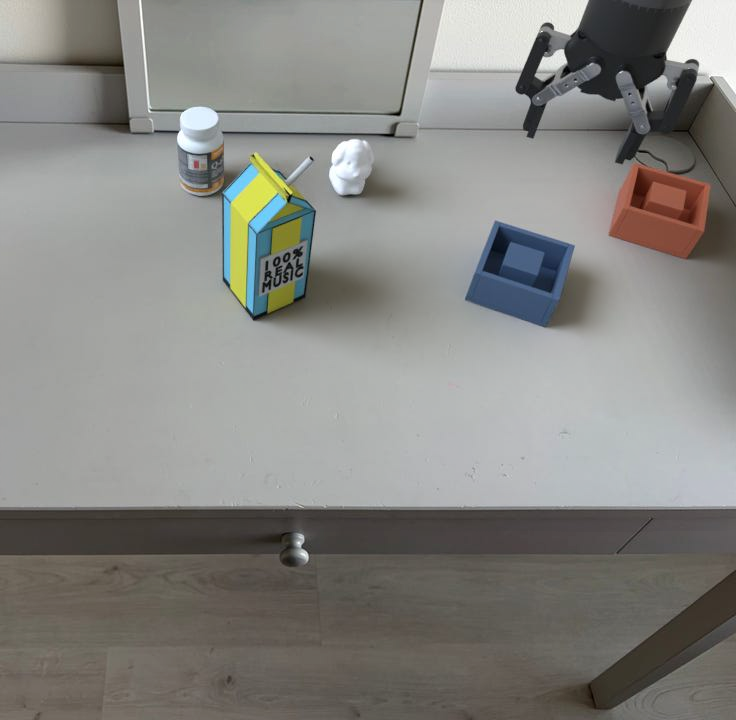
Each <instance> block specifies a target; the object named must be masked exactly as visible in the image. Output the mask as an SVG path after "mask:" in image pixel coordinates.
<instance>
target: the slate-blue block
mask: <svg viewBox="0 0 736 720" xmlns="http://www.w3.org/2000/svg"><path fill="white" fill-rule="evenodd" d="M544 254H545V252H542V251H538V250H535V249H532V248H529V247H526V246H523V245H519V244H516V243H513V242H510V244H509V247H508V249H507V252H506V254H505V256H504V259H503V261H502V264H501V266H500V269H499V272H498V275H497V276H500V277H503V278H506V279H509V280H512V281H515V282H518V283H521V284H524V285H527V286H530V287H533V285H534V283H535V281H536V279H537V277H538V274H539V271H540V267H541V264H542V261H543V258H544Z"/></svg>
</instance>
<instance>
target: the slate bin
mask: <svg viewBox="0 0 736 720" xmlns="http://www.w3.org/2000/svg"><path fill="white" fill-rule="evenodd" d="M510 242H513V243H516V244H519V245H523V246H526V247H529V248H532V249H535V250H538V251H542V252H545V254H544V258H543V261H542V264H541V267H540V271H539V274H538V277H537V279H536V281H535V283H534V285H533V287H530V286H527V285H524V284H521V283H518V282H515V281H512V280H509V279H506V278H503V277H500V276H497V275H498V272H499V269H500V266H501V264H502V261H503V259H504V256H505V254H506V252H507V249H508V247H509V244H510ZM575 248H576V247H575V244H572V243H570V242H565V241H562V240H559V239H556V238H553V237H550V236H546V235H544V234H540V233H538V232H533V231H530V230H528V229H524V228H520V227H517V226H514V225H512V224H508V223H506V222H502V221H499V220H494V222H493V224H492V227H491V230H490V232H489V234H488V237H487V240H486V242H485V245H484V248H483V250H482V253H481V255H480V258H479V260H478V263H477V265H476V267H475V268H476V269H475V271H474V273H473V275H472V276H473V277H472V279H471V282H470V285H469V287H468V290H467V292H466V295H465V297H464V301H466V302H468V303H473V304H476V305H479V306H481V307H485V308H486V309H491V310H494V311H495V312H498V313H502V314H505V315H508V316H511V317H514V318H517V319H519V320H523V321H525V322H529V323H532V324H534V325H538V326H540V327H544V328H546V327H547V325H548V323H549V321H550V319H551V317H552V315H553V313H554V312H555V309H556V307H557V306H558V304H559V302H560V299H561V297H562V296H561V295H562V292H563V289H564V285H565V282H566V278H567V276H568V275H567V274H568V273H569V272H568V271H569V268H570V265H571V262H572V261H571V260H572V258H573V255H574V254H573V253H574V251H575Z"/></svg>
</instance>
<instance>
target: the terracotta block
mask: <svg viewBox="0 0 736 720" xmlns="http://www.w3.org/2000/svg"><path fill="white" fill-rule="evenodd" d="M685 197H686V191H685V190H681V189H678V188H674V187H671V186H667V185H664V184H660V183H657V182H653V183H652V185H651V187H650V188H649V190H648V192H647V194H646V195H645V197H644V199H643V201H642V203H641V204H640V207H639V209H642V210H645V211H649V212H652V213H655V214H659V215H662V216H665V217H669V218H672V219H676V220H678V218H679V217H680V215H681V213H682V212H683V209H684V203H685Z"/></svg>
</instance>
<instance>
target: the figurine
mask: <svg viewBox="0 0 736 720" xmlns="http://www.w3.org/2000/svg"><path fill="white" fill-rule="evenodd" d="M373 152H374V151H373V149H372V148H371V145H370V143H369V142H368V141H367V140H361V139H359V138H352V139H349V140H347V141H346V140H345V141H344V140H343V141H342V142H341V143H339V144H338V145H337V147H336V148H335V149H334V150H333V152H332V155H331V164H332V165H331V166H330V168H329V170H328V171H329V172H328V173H329V175H328V178H329V181H330V183H331V185H332V187H333V189H334V191H335V192H336V194H338V195H339V196H347V195H354V196H357V195H360V194H361V193H362V192H363V190H364V188H365V184H366V179H367V178H369V177H370V175H371V173H372V171H373V166H372V165H373V164H374V162H375V155H374V153H373Z"/></svg>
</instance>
